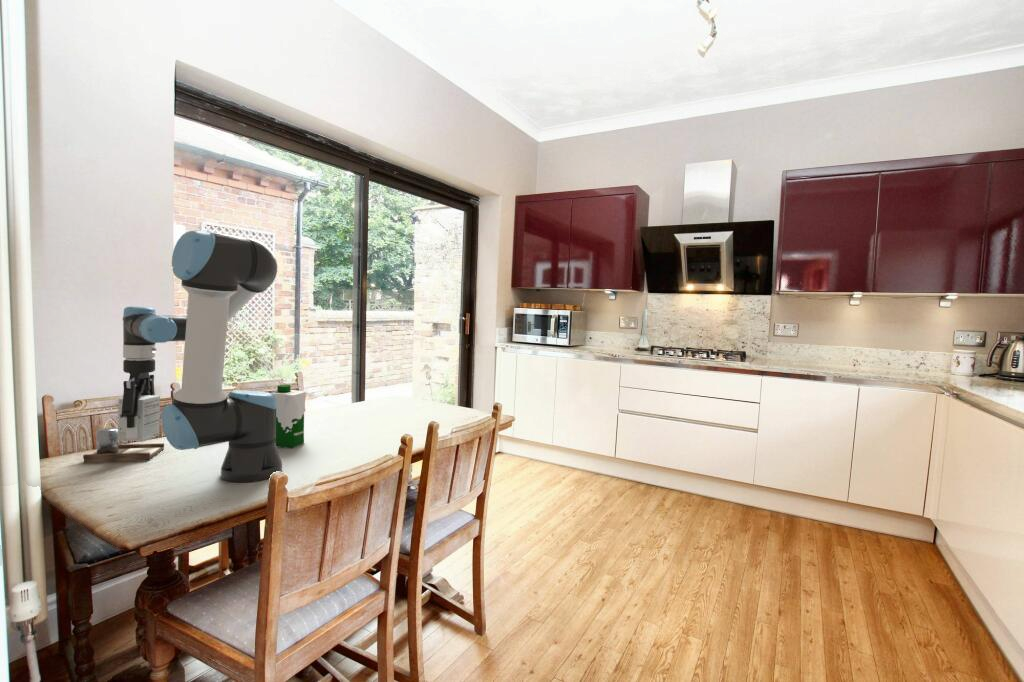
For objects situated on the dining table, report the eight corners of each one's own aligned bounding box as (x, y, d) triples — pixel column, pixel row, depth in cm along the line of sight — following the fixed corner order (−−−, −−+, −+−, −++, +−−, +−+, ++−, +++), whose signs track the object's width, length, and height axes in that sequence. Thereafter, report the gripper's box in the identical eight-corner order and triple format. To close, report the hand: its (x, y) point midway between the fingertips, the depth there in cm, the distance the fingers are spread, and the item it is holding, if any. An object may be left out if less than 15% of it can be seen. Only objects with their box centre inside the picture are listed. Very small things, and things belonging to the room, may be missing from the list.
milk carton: (284, 440, 169) (285, 383, 168) (308, 442, 167) (309, 385, 166) (268, 446, 160) (269, 387, 159) (293, 449, 159) (294, 389, 158)
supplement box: (116, 441, 141) (116, 398, 140) (136, 434, 149) (136, 393, 148) (142, 442, 141) (142, 399, 140) (160, 435, 149) (160, 395, 148)
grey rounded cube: (113, 455, 141) (113, 431, 141) (92, 455, 140) (92, 431, 139) (122, 450, 146) (121, 427, 146) (102, 450, 145) (102, 427, 144)
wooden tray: (164, 450, 152) (164, 443, 151) (149, 460, 141) (149, 453, 141) (103, 451, 147) (103, 444, 147) (83, 462, 137) (83, 455, 137)
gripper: (137, 363, 134) (137, 443, 136) (168, 355, 154) (168, 425, 156) (105, 362, 132) (105, 444, 134) (141, 354, 152) (141, 425, 154)
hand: (139, 433), depth 145 cm, fingers closed on supplement box, 8 cm apart
